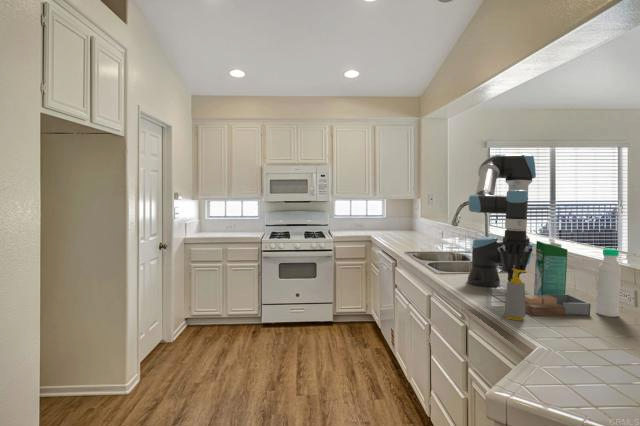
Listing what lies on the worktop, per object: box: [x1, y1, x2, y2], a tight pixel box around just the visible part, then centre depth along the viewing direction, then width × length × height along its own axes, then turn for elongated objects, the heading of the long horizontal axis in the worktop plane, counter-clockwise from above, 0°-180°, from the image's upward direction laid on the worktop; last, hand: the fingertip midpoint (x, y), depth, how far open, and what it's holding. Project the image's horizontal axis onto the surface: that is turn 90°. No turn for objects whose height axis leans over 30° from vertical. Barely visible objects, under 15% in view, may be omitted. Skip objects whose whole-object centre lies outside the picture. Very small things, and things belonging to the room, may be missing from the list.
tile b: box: [537, 295, 557, 304], centre depth 152 cm, size 5×5×2 cm
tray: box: [544, 293, 592, 316], centre depth 152 cm, size 13×10×4 cm
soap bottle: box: [503, 269, 527, 321], centre depth 141 cm, size 7×7×18 cm
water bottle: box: [595, 248, 622, 318], centre depth 146 cm, size 7×7×25 cm
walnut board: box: [525, 302, 566, 317], centre depth 152 cm, size 15×12×3 cm
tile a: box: [525, 294, 542, 304], centre depth 152 cm, size 5×5×2 cm
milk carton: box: [533, 240, 568, 296], centre depth 165 cm, size 9×9×25 cm
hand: (512, 289), depth 152 cm, fingers closed
